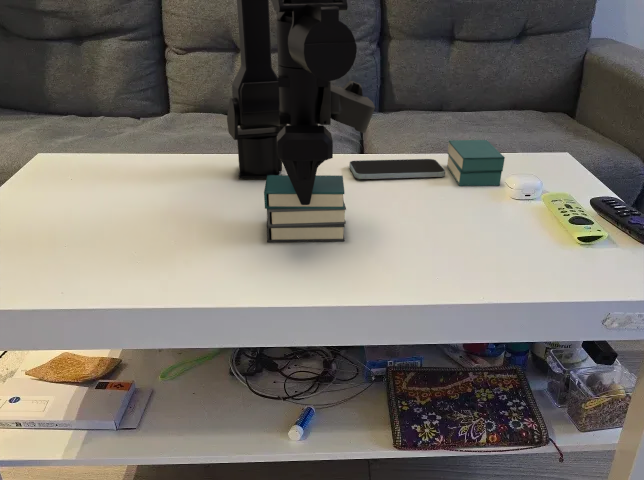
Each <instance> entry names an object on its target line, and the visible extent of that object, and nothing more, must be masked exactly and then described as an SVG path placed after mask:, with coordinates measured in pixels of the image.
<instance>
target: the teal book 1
mask: <svg viewBox="0 0 644 480" xmlns="http://www.w3.org/2000/svg"><path fill="white" fill-rule="evenodd" d="M344 195H345V185H344V176H343V175H331V174H329V175H326V174H325V175H317V174H316V177H315V182H314V186H313V191H312V196H311V201H310V204H309V205H301V203H300V201H299V199H298V196H297V194H296V192H295V190H294V187H293V185H292V183H291V181H290V178H289V176H288V174H284V175H283V174H279V175H267V179H265V185H264V190H263V198H264V199H263V200H264V201H263V202H264V209H265V210H267V209H344V203H345V201H344Z"/></svg>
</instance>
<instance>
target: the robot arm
mask: <svg viewBox="0 0 644 480" xmlns="http://www.w3.org/2000/svg"><path fill="white" fill-rule="evenodd" d="M270 1H271V4H272V6H273V10H274V11H275V12H276V44H277V49H276V50H277V72H278V74H276V72H275V71H274V68H273V66H272V65H273V64H272V63H273V62H272V42H271V25H270V24H271V20H270ZM236 7H237V23H238V24H237V25H238V38H239V52H240V53H239V55H240V67H239V69H238V71H237V73H236V75H235V77H234V79H233V81H232V84H231V92H232V93H231V95H232V97H230V98H229V103H228V109H227V115H226V123H227V131H228V134H229V135H230V137H231V138H232V139H233V140H234V141H237V157H238V174H237V178H238V179H240V180H253V179H254V180H257V179H258V180H259V179H263V180H264V179H265V180H266V179H267V175H280V173H281V172H282V171H283V167H284V170H285V172H286V175H288V176H289V178H290V181H291V183H292V185H293V187H294V190H295V192H296V194H297V196H298V199H299V201H300V203H301V205H309V204H310V201H311V196H312V191H313V186H314V182H315V177H316V175H317V173H318V172H317V171H318V168H319V166H321V165H322V164H323V163H324V162H325V161H328V160H331V159H333V158H334V156H333V155H334V141H333V135H332V133H331V132H330V131H329V130H328V128H327V127H326V126H331V124H332V120H333V121H335V122H338V123H339V124H343V125H345V126H348V127H351V128H353V129H354V130H355V131H356V132H359V133H362V134H365V133H366V132H367V130H368V127H369V125H370V121H371V119H372V117H373V114H374V111H375V109H376V106H375V103H374V102H373V100H372V99H370V98H369V97H368V96H364V94H363V86H362V84H361V83H358V82H357V81H354V80H351V79H350V80H349V81H348V82H347V83H346V84H344V85H343V87H342V86H340V85H338V86H336V85H333V84H332V83H331V82H332V81H337V80H339V79H341V78H343V77H344V76H346V75H347V74H348V73H349V71H350V70H351V69H352V68H353V66H354V64H355V61H356V57H357V52H358V50H357V49H358V48H357V47H358V46H357V42H356V40H355V36H354V34H353V31H352V30H351V29H350V28H349V26H347V24H345V23H343V22H342V21H341V20H340V11H341V12H343V11H344V12H345V11H348V7H349V5H348V0H236Z"/></svg>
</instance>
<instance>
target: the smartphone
mask: <svg viewBox="0 0 644 480" xmlns="http://www.w3.org/2000/svg"><path fill="white" fill-rule="evenodd" d="M348 167H349V169H350V171H351V172H352V175H353V176H354V178H356V179H358V180H370V179H371V180H377V179H409V178H410V179H411V178H441V177H442V178H443V177H445V176H446V169H445V168H444V167H443V165H441V164H440V163H439V162H438V161H437V160H436V159H433V158H409V159H408V158H407V159H406V158H403V159H369V160H368V159H367V160H365V159H364V160H363V159H362V160H350V161H349V166H348Z"/></svg>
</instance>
